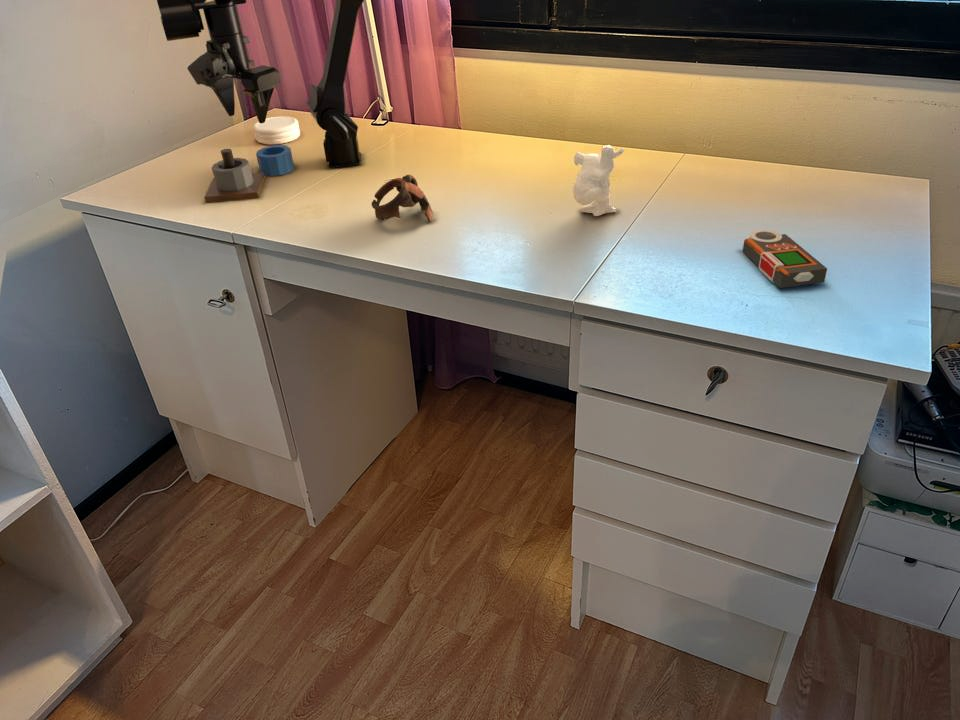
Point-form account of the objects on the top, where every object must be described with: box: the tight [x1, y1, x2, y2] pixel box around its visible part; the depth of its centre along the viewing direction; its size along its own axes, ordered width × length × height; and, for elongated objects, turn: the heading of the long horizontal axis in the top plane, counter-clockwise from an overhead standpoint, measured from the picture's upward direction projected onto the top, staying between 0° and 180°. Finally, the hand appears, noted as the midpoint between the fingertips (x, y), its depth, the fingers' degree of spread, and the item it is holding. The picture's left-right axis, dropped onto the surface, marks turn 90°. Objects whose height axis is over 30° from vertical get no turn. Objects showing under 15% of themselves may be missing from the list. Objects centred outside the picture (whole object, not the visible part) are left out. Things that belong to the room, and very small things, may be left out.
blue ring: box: [255, 144, 295, 177], centre depth 150 cm, size 7×7×4 cm
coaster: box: [253, 115, 301, 146], centre depth 166 cm, size 10×10×4 cm
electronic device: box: [742, 229, 828, 289], centre depth 109 cm, size 7×3×15 cm
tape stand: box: [203, 148, 266, 204], centre depth 141 cm, size 10×10×8 cm
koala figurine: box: [572, 144, 625, 217], centre depth 124 cm, size 8×7×12 cm
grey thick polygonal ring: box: [211, 157, 253, 191], centre depth 142 cm, size 7×7×4 cm
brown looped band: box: [371, 174, 434, 223], centre depth 128 cm, size 12×10×8 cm
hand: (246, 119), depth 141 cm, fingers open, 9 cm apart
